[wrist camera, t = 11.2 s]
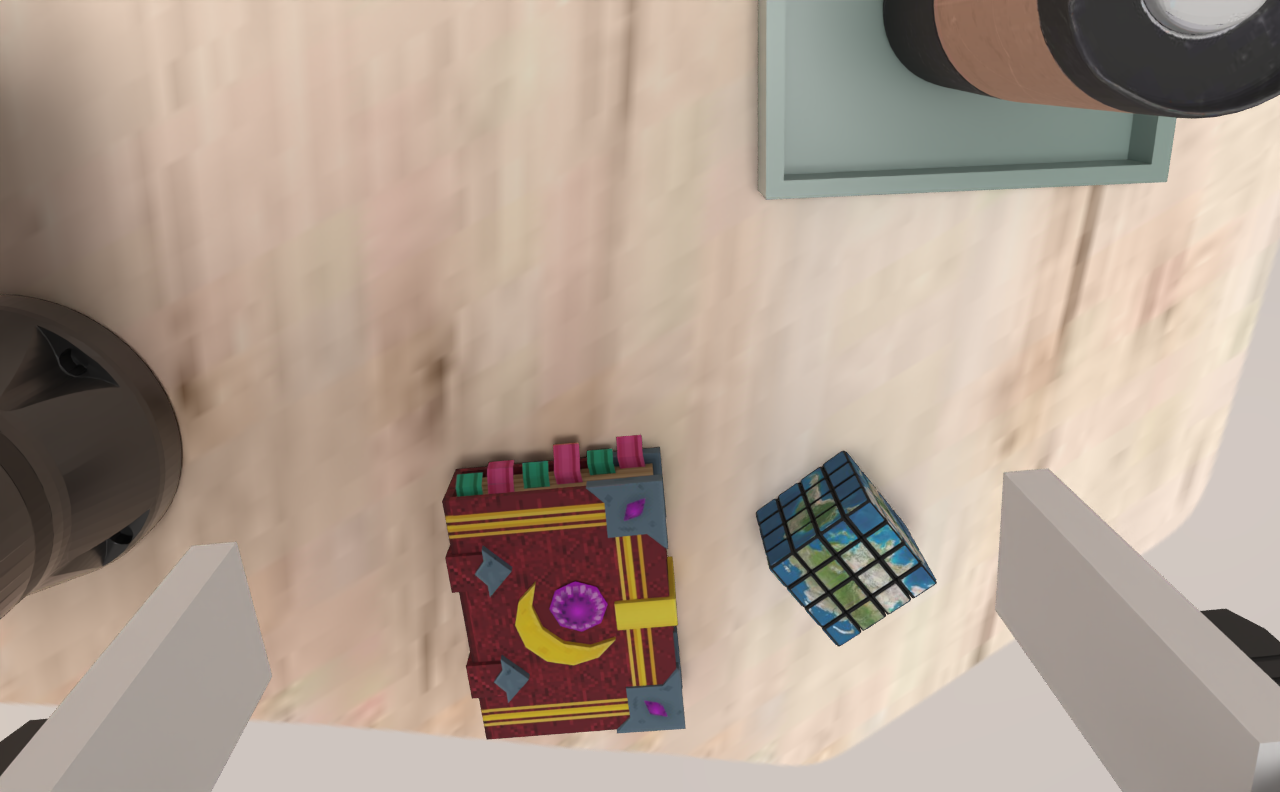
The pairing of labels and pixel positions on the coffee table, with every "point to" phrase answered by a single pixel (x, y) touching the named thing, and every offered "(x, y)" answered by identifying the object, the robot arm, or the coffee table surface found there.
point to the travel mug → (1096, 52)
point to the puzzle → (842, 549)
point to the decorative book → (567, 592)
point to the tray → (917, 120)
